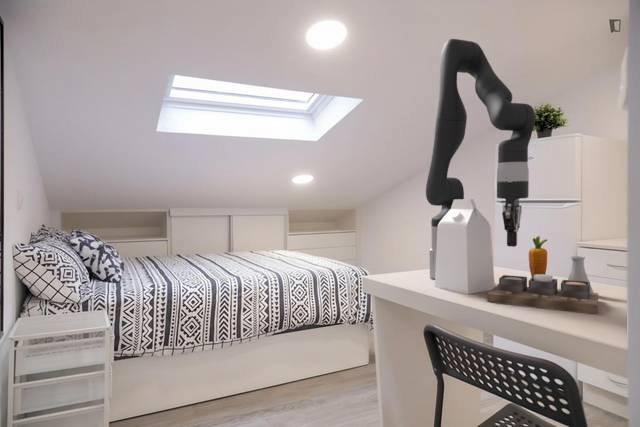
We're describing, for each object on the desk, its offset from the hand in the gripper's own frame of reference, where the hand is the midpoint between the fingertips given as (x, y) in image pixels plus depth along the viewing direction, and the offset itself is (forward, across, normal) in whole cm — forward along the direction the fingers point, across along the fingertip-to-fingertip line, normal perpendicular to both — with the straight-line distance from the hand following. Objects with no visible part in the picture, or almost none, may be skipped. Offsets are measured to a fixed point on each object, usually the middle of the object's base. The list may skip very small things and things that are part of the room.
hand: (511, 246), depth 108 cm
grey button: (+9, 0, +7) cm, 12 cm away
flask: (+14, -12, +14) cm, 23 cm away
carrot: (+14, -16, +4) cm, 21 cm away
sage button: (+10, 0, 0) cm, 10 cm away
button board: (+13, +2, +8) cm, 15 cm away
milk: (+14, -5, -14) cm, 20 cm away
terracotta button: (+10, 0, +14) cm, 18 cm away
